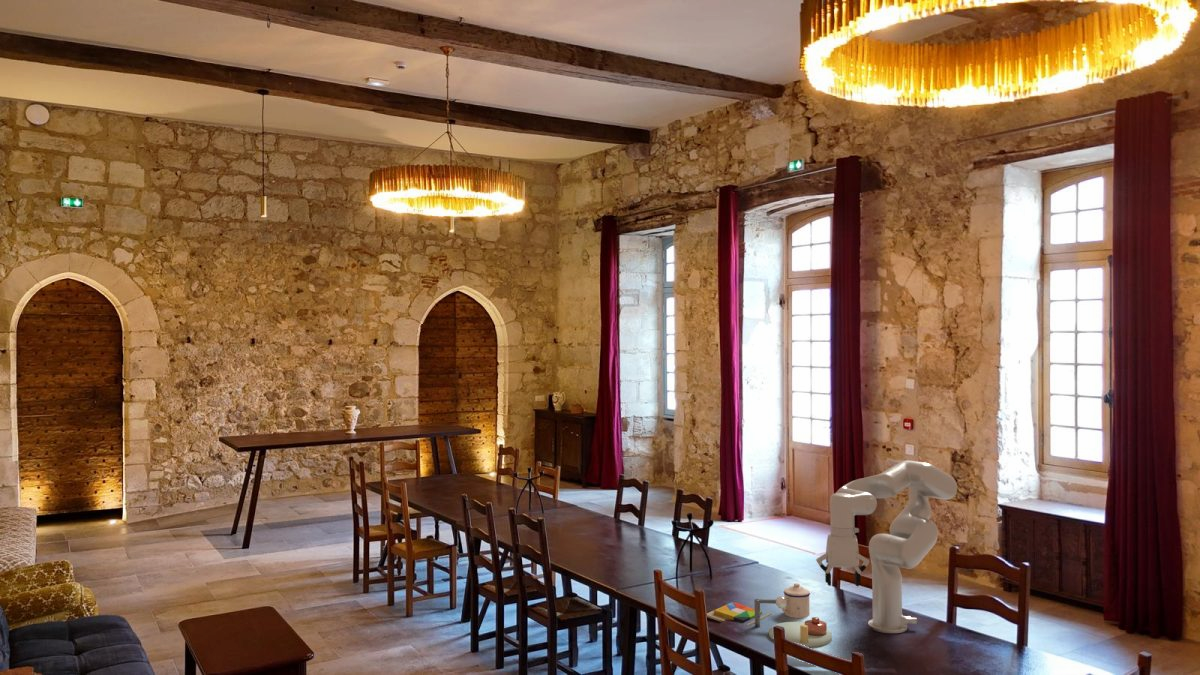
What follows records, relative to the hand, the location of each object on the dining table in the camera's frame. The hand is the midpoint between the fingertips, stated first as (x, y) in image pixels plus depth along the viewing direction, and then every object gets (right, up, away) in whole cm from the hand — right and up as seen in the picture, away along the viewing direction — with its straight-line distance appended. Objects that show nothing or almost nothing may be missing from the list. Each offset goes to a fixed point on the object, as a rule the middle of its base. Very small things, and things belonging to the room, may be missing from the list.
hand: (842, 584), depth 281 cm
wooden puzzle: (-31, -19, +24) cm, 43 cm away
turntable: (-14, -17, +1) cm, 22 cm away
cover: (-9, -16, +1) cm, 18 cm away
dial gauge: (-22, -18, +11) cm, 31 cm away
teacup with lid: (-11, -18, +23) cm, 31 cm away
